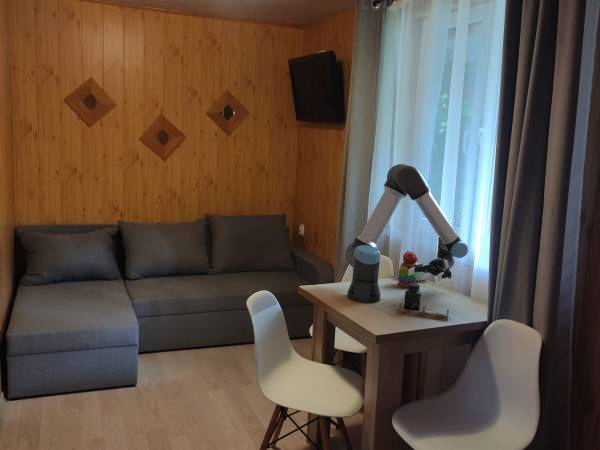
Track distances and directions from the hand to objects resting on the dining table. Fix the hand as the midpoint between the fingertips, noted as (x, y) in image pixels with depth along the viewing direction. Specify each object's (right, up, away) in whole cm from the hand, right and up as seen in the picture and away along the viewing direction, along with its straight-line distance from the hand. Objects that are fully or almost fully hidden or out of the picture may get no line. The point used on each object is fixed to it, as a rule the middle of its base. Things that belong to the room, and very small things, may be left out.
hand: (423, 275), depth 259 cm
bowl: (+7, -7, +52) cm, 53 cm away
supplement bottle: (-7, -15, -6) cm, 18 cm away
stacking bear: (-1, -9, +36) cm, 37 cm away
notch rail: (-2, -16, -8) cm, 18 cm away
